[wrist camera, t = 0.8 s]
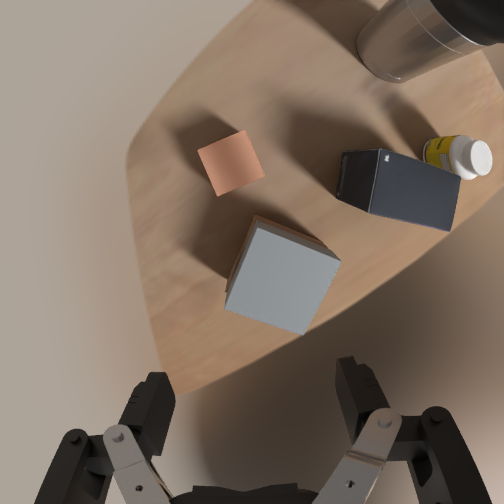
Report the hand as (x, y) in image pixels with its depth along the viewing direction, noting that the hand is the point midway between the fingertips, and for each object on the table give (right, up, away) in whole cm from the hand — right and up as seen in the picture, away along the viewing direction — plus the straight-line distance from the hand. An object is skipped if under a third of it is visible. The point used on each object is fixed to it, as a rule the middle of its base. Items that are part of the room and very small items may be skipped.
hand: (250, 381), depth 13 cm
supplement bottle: (+25, +19, +20) cm, 37 cm away
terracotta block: (-2, +16, +20) cm, 26 cm away
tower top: (+3, +4, +20) cm, 21 cm away
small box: (+16, +14, +21) cm, 30 cm away
